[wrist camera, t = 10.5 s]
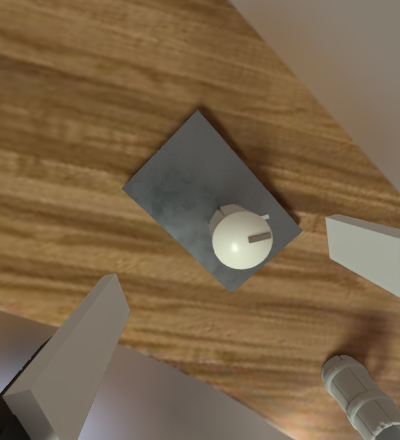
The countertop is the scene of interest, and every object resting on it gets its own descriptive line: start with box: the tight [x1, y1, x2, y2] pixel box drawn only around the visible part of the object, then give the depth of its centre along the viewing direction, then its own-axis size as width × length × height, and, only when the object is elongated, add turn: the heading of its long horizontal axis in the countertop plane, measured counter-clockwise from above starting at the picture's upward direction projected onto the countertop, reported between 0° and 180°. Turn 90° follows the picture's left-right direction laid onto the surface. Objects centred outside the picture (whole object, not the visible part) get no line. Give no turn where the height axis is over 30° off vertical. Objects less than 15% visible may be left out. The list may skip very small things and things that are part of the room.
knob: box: [209, 204, 273, 269], centre depth 24 cm, size 6×6×7 cm
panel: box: [122, 110, 302, 293], centre depth 26 cm, size 22×14×6 cm, turn 44°
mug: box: [321, 355, 400, 440], centre depth 31 cm, size 8×12×12 cm, turn 45°
